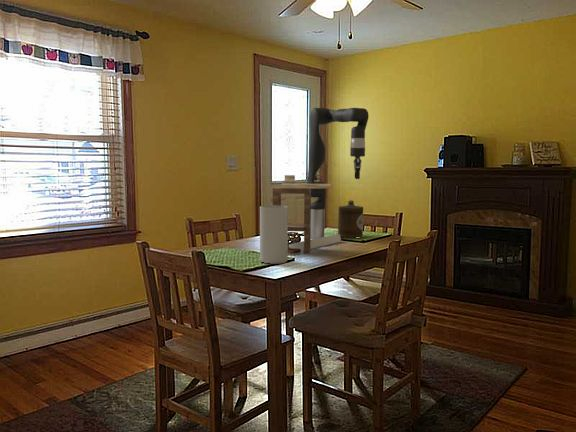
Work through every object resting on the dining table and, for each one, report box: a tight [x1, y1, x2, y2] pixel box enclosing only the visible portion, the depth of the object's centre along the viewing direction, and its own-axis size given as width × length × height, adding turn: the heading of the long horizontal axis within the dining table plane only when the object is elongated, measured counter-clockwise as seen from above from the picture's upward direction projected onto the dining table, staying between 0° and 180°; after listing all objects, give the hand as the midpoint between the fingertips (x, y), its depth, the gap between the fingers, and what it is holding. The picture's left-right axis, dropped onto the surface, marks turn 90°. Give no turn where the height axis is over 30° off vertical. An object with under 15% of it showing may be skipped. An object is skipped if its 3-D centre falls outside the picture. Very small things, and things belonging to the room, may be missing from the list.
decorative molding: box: [288, 233, 342, 251], centre depth 280 cm, size 34×5×10 cm
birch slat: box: [280, 183, 331, 190], centre depth 254 cm, size 4×24×2 cm, turn 85°
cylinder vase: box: [259, 204, 289, 265], centre depth 232 cm, size 12×12×25 cm
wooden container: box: [337, 199, 364, 239], centre depth 307 cm, size 15×15×22 cm
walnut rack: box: [272, 186, 312, 255], centre depth 260 cm, size 16×18×32 cm
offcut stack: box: [282, 174, 296, 184], centre depth 262 cm, size 4×6×6 cm
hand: (357, 178), depth 267 cm, fingers open, 8 cm apart
